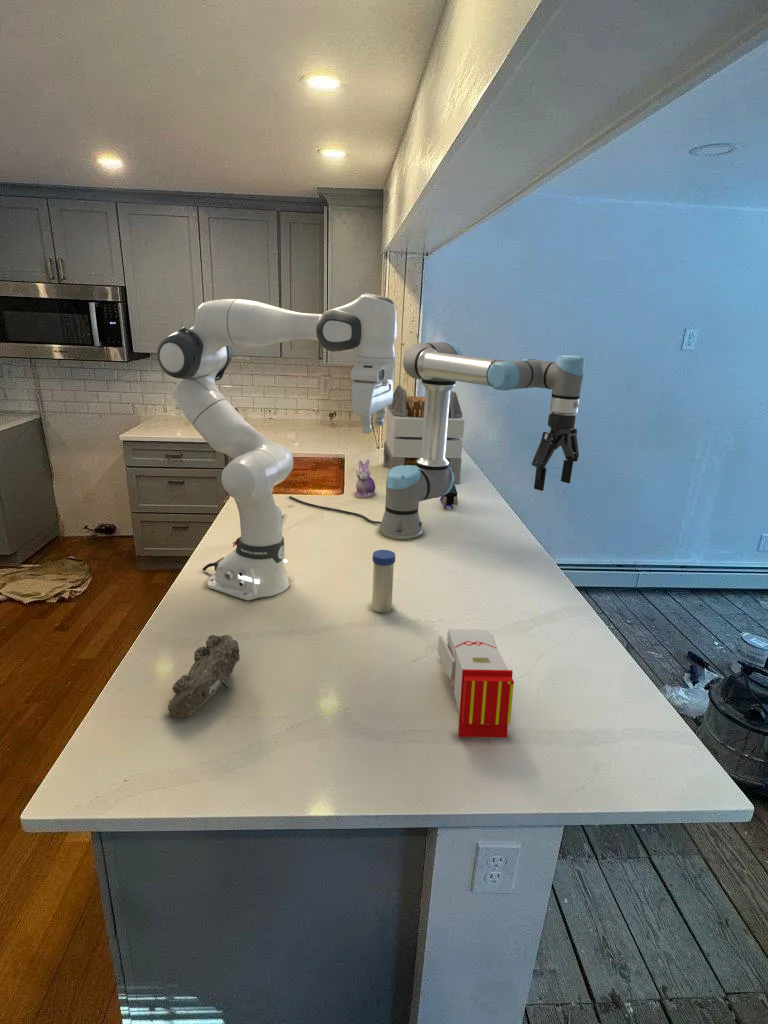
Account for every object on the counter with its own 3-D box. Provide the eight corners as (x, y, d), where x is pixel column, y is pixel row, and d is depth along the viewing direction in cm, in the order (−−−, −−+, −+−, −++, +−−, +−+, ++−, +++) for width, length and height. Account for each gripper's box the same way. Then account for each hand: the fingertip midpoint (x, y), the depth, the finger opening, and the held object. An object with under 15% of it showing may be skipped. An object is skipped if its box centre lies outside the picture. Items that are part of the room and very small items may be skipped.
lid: (375, 554, 149) (375, 548, 148) (397, 557, 148) (397, 551, 147) (370, 563, 143) (370, 557, 143) (392, 567, 142) (393, 560, 142)
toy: (488, 613, 130) (523, 677, 101) (484, 667, 133) (517, 744, 104) (435, 612, 130) (455, 676, 101) (432, 666, 133) (451, 743, 103)
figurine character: (457, 514, 225) (453, 498, 239) (459, 497, 222) (455, 481, 236) (441, 513, 225) (437, 497, 239) (442, 496, 222) (439, 481, 235)
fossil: (192, 637, 126) (240, 606, 121) (222, 665, 128) (270, 636, 123) (145, 711, 106) (200, 678, 101) (182, 743, 109) (237, 712, 104)
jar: (374, 601, 153) (376, 550, 148) (393, 604, 152) (396, 553, 147) (369, 611, 148) (371, 558, 143) (389, 614, 147) (391, 561, 142)
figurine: (360, 499, 233) (361, 464, 228) (349, 492, 242) (350, 458, 237) (380, 497, 237) (381, 462, 232) (369, 490, 246) (370, 456, 241)
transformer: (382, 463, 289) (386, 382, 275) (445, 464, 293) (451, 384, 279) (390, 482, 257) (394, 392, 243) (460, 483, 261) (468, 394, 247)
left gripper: (376, 365, 140) (374, 420, 145) (347, 372, 122) (346, 436, 127) (400, 366, 139) (397, 423, 143) (375, 374, 120) (372, 438, 125)
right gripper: (548, 419, 148) (537, 496, 155) (598, 411, 163) (586, 482, 171) (525, 414, 153) (515, 489, 160) (575, 407, 169) (564, 476, 176)
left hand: (373, 429), depth 135 cm, fingers open, 8 cm apart
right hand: (552, 485), depth 166 cm, fingers open, 13 cm apart
